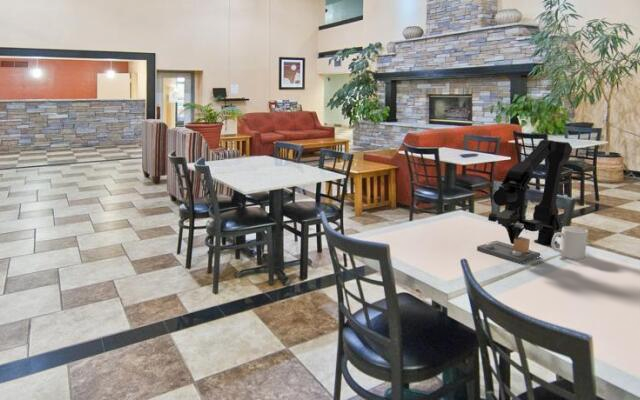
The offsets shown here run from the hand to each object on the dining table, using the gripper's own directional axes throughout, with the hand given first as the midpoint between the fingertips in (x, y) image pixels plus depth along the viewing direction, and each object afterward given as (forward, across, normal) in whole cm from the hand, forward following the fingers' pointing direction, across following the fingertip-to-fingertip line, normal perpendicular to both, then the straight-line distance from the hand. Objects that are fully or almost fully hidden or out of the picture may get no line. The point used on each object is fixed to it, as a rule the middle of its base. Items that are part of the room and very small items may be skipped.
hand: (512, 243), depth 180 cm
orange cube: (+2, +4, 0) cm, 4 cm away
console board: (+4, 0, -2) cm, 4 cm away
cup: (+4, +14, +13) cm, 19 cm away
